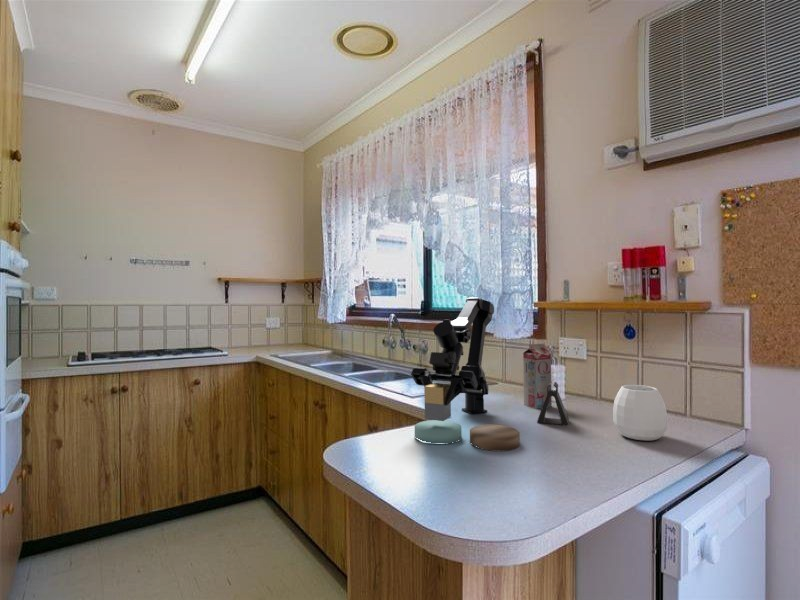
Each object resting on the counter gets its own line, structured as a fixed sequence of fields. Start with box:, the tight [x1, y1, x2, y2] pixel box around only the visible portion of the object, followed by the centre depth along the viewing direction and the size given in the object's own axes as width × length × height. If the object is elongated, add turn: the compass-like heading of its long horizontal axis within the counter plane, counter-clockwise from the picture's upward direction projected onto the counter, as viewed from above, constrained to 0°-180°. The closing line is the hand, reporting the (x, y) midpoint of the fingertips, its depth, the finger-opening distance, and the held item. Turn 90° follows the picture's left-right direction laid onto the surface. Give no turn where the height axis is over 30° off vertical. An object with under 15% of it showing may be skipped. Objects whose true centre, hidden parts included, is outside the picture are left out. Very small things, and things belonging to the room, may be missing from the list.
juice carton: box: [522, 342, 553, 410], centre depth 159 cm, size 7×7×22 cm
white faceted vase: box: [612, 384, 668, 441], centre depth 123 cm, size 13×13×14 cm
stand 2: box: [469, 424, 521, 452], centre depth 120 cm, size 13×13×3 cm
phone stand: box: [536, 380, 570, 427], centre depth 139 cm, size 9×6×12 cm, turn 68°
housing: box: [423, 382, 452, 421], centre depth 125 cm, size 6×6×9 cm
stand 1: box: [414, 419, 463, 444], centre depth 125 cm, size 13×13×3 cm
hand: (435, 403), depth 124 cm, fingers closed on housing, 5 cm apart
